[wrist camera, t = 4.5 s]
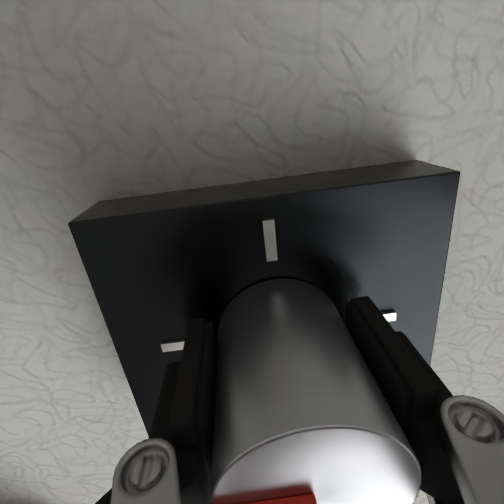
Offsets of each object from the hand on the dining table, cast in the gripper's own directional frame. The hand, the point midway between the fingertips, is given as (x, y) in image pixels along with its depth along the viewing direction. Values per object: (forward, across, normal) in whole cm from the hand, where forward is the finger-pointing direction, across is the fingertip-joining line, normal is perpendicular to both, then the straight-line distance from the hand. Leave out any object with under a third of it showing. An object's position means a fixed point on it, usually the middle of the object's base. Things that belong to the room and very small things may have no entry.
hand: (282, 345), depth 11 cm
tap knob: (+1, 0, 0) cm, 1 cm away
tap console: (+3, 0, 0) cm, 3 cm away
